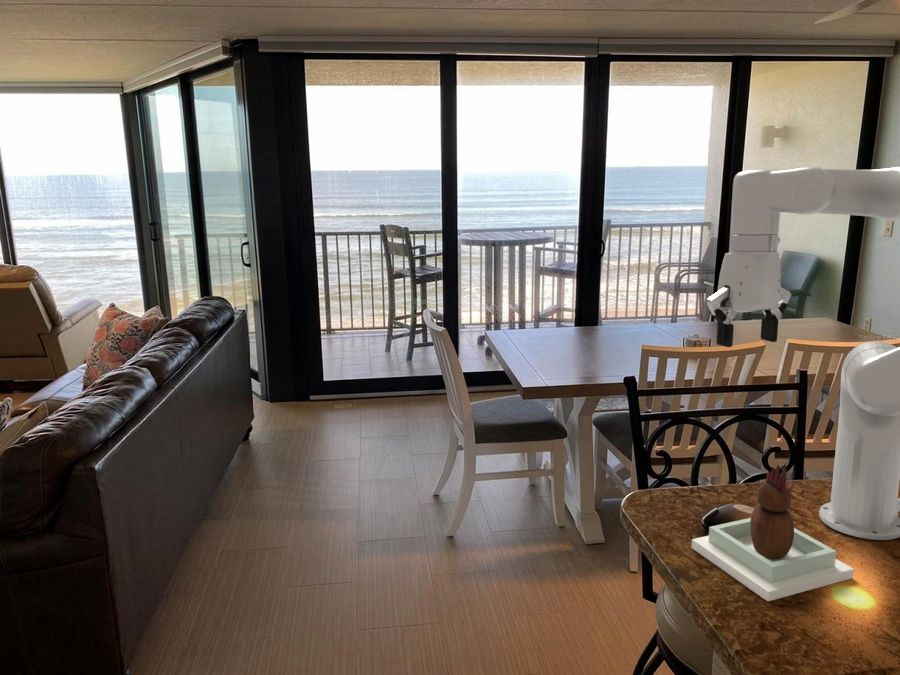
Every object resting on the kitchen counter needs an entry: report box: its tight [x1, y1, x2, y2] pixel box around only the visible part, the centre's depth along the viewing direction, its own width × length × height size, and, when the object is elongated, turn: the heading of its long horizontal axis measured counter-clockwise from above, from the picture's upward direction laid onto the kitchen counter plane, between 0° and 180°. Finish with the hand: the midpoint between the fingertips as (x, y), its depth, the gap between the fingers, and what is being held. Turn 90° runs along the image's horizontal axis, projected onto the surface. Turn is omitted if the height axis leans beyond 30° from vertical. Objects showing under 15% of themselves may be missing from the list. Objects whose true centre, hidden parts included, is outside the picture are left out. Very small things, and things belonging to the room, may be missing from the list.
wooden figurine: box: [750, 464, 795, 559], centre depth 103 cm, size 7×6×15 cm
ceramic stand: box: [691, 517, 855, 602], centre depth 104 cm, size 16×16×4 cm
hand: (746, 343), depth 118 cm, fingers open, 9 cm apart
